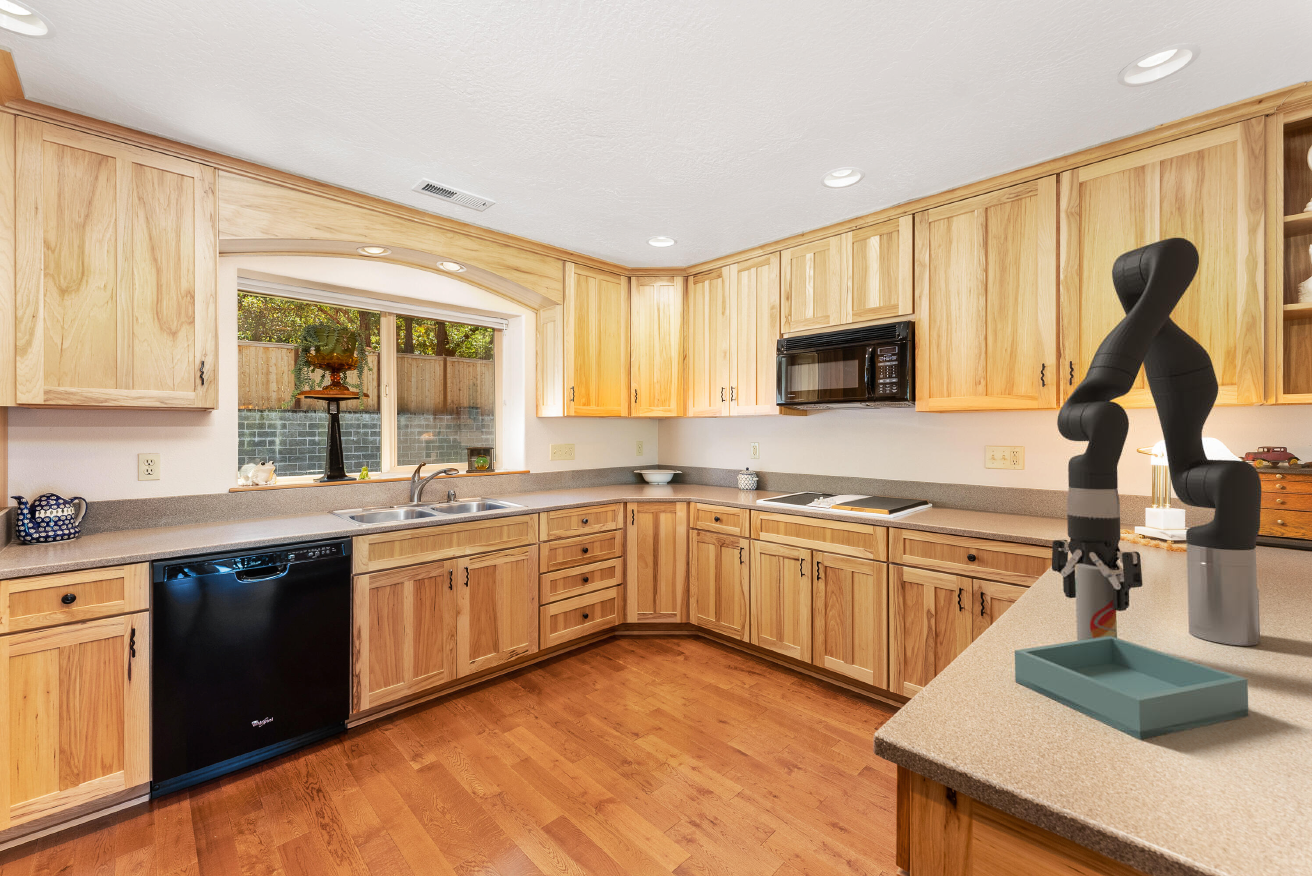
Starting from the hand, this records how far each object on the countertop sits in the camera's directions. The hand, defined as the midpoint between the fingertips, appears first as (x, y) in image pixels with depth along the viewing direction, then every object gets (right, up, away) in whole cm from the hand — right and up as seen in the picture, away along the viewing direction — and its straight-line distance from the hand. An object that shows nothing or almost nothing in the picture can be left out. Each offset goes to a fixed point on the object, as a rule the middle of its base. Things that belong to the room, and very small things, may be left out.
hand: (1094, 603), depth 101 cm
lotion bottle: (0, -9, 0) cm, 9 cm away
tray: (-10, -8, -18) cm, 23 cm away
